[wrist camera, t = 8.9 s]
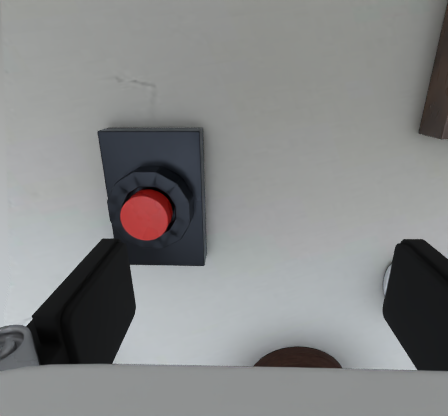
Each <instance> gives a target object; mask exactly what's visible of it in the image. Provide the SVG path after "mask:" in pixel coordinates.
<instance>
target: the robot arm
mask: <svg viewBox="0 0 448 416" xmlns="http://www.w3.org/2000/svg"><path fill="white" fill-rule="evenodd" d="M135 310H136V304H135V297H134V291H133V284H132V277H131V271H130V264H129V257H128V251H127V245H126V243H122V242H121V240H120V239H102V240H101V241H100V242H99V243H98V244H97V245H96V246H95V247H94V248H93V249H92V251H91V252H90V253H89V254H88V255H87V256H86V257H85V258H84V259H83V260H82V262H81V263H80V264H79V265H78V266H77V267H76V268H75V269H74V270H73V271H72V272H71V274H70V275H69V276H68V277H67V278H66V279H65V280H64V281H63V282H62V283H61V285H60V286H59V287H58V288H57V289H56V290H55V291H54V292H53V293H52V294H51V295H50V297H49V298H48V299H47V300H46V301H45V302H44V303H43V304H42V305H41V306H40V308H39V309H38V310H37V311H36V312H35V313H34V314H33V315H32V318H33V319H32V321H31V322H30V323H29V324H28V325H27V326H26V327H25V326H23V325H10V326H4V327H1V328H0V416H448V259H447V258H446V257H445V256H443V255H442V254H441V253H440V252H438V251H437V250H436V249H435V248H433V247H432V246H431V245H430V244H428V243H427V242H426V241H425V240H423V239H404V240H402V241H401V243H400V244H397V245H396V247H395V251H394V256H393V260H392V265H391V270H390V275H389V280H388V284H387V289H386V294H385V299H384V304H383V316H384V318H385V320H386V322H387V323H388V325H389V326H390V328H391V330H392V331H393V333H394V334H395V336H396V337H397V339H398V340H399V342H400V344H401V345H402V347H403V348H404V350H405V351H406V353H407V354H408V356H409V358H410V359H411V361H412V362H413V364H414V365H415V367H416V368H417V370H386V369H341V368H297V367H248V366H202V365H144V364H112V363H113V361H114V358H115V356H116V354H117V352H118V350H119V348H120V345H121V343H122V341H123V339H124V337H125V335H126V332H127V330H128V328H129V326H130V324H131V321H132V319H133V317H134V315H135Z"/></svg>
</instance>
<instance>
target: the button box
mask: <svg viewBox="0 0 448 416" xmlns="http://www.w3.org/2000/svg"><path fill="white" fill-rule="evenodd" d="M98 138H99V144H100V151H101V157H102V164H103V170H104V177H105V183H106V189H107V196H108V200H107V204H108V210H109V216H110V221H111V223H112V228H113V235H114V239H120V240H121V242H122V243H126V245H127V251H128V257H129V264H130V265H178V266H204V265H205V260H206V255H207V247H206V214H205V181H204V148H203V128H107V129H103V130H100V131H98ZM144 189H152V190H156V191H158V192H160V193H162V194H163V195H165V196H166V197H167V199H168V200H169V201H170V203H171V206H172V210H173V215H172V219H171V221H170V223H169V225H168V227H167V229H166V231H165V232H164V233H163V235H161V236H160V237H158V238H156V239H154V240H140V239H137V238H135V237H133V236H131V235H130V234H129V233H128V232H127V231H126V230H125V229H124V227H123V225H122V223H121V218H120V213H121V209H122V207H123V205H124V204H125V202H126V201H127V200H128V199H129V198H130V197H131V196H132V195H134V194H135V193H136V192H138V191H140V190H144Z"/></svg>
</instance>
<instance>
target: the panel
mask: <svg viewBox="0 0 448 416" xmlns="http://www.w3.org/2000/svg"><path fill="white" fill-rule="evenodd" d="M419 134H422V135H426V136H430V137H434V138H438V139H448V4H447V9H446V13H445V18H444V22H443V27H442V31H441V36H440V40H439V45H438V49H437V54H436V58H435V62H434V67H433V71H432V76H431V80H430V85H429V89H428V94H427V98H426V103H425V107H424V112H423V116H422V121H421V125H420V129H419Z"/></svg>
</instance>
